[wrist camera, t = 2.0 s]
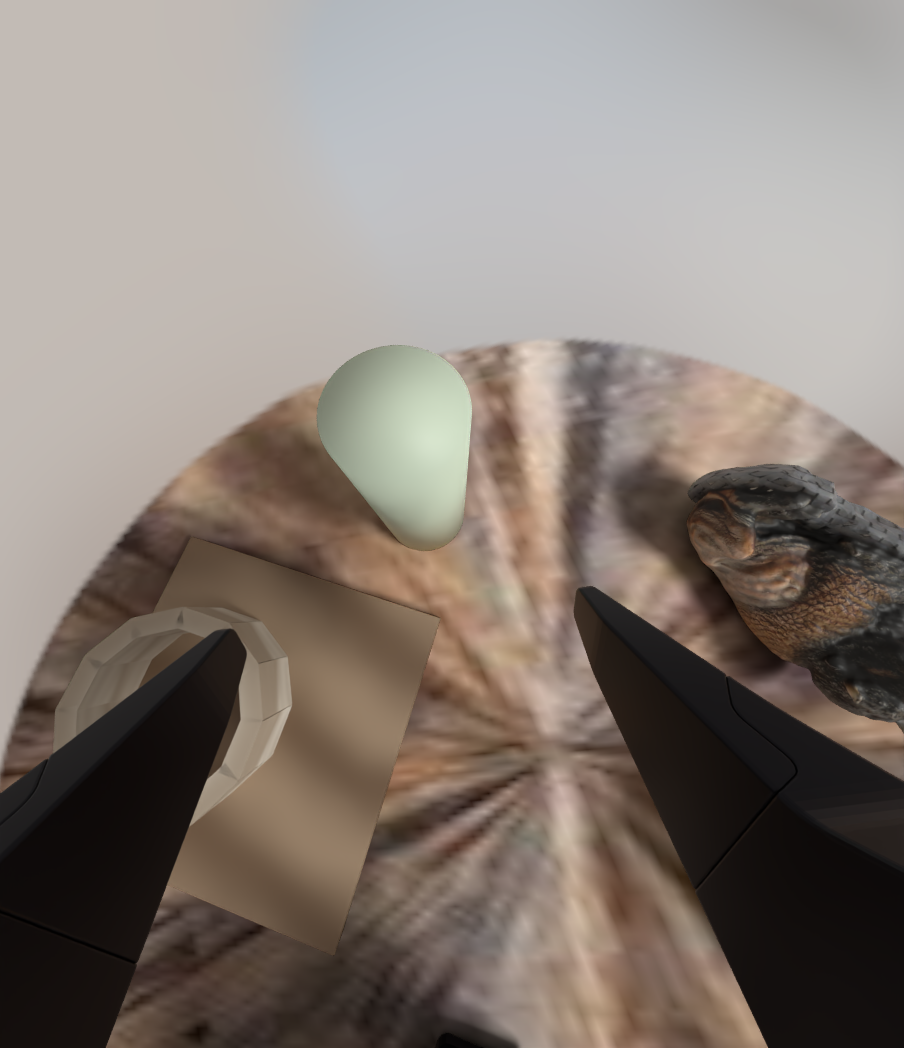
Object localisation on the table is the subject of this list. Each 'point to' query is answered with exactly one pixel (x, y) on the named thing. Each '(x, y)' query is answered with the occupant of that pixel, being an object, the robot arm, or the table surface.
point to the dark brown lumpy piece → (810, 578)
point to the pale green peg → (402, 439)
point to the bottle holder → (276, 730)
